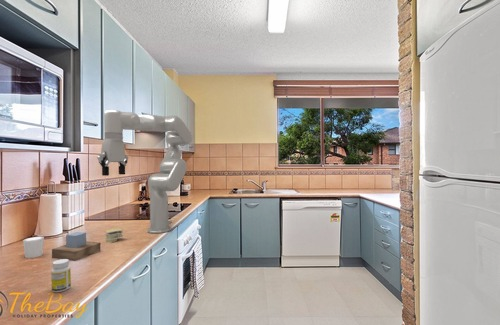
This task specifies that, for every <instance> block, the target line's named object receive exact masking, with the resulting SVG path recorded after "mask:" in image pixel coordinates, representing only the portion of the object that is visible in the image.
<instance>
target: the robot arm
mask: <svg viewBox="0 0 500 325" xmlns="http://www.w3.org/2000/svg"><path fill="white" fill-rule="evenodd" d="M103 121H104V122H103V124H104V127H103V129H104V130H103V132H104V134H103V135H104V136H103V137H104V139H103V140H102V142H101V147H100V148H101V149H100V154H99V155H97V157H96V158H97V160H98V163H99V165H100V167H101V175H102V176H104V177H105V176H106V177H107V176H110V166H109V164H110V163H118V175H126V166H127V164H128V161H129V156H127V154H126V152H125V150H126V149H125V143H124V136H123V135H124V134H123V132H124V131H125V130H127V131H129V130H130V131H146V132H147V131H148V132H149V131H150V132H167V133H166V134H165V142H166V146H167V151H166V153H165V154H164V156H163V159H162V160H161V162H160V164H159V166H158V171H159V172H158V173H153V174H151V175H150V176H149V178H148V179H147V187H148V189H149V191H148V192H149V212H150V213H149V218H150V219H149V221H150V222H149V224H150V225H149V228H147V229H146V231H147V233H149V234H163V233H167V232H170V231H171V230H172V227H171V226H170V225H171V224H173V221H172V220H171V219H170V220H169V197H168V196H169V195H168V193H167V192H175V191H176V190H177V189H178V188H179V187H180V185H181V183H182V180H183V178H184V176H185V174H186V173H187V169H188V168H187V166H188V165H187V162H186V161H185V160H184V159H183V158H181V157H182V151H181V148H180V146H186V145H190V144H191V143H192V142H193V135H192V132H191V131H190V129H189V127H188V126H187V125H186V123H185V122H184V121H183V119H182V118H180V117H179V116H178V115H169V116H165V115H164V116H163V115H155V114H137V113H135V112H131V111H120V110H119V109H118V110H117V109H116V110H115V109H107V110H105V111H104V113H103ZM123 130H124V131H123Z"/></svg>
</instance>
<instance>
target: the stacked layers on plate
mask: <svg viewBox="0 0 500 325" xmlns="http://www.w3.org/2000/svg"><path fill="white" fill-rule="evenodd" d="M123 230H124V228H111V229H108V230H105V232H107V233H104V235H105V238H104V239H105V242H106V243H108V244H112V243H116V242H118V239H120V238H123V236H124V235H123V233H124V232H123Z"/></svg>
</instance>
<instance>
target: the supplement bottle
mask: <svg viewBox="0 0 500 325" xmlns="http://www.w3.org/2000/svg"><path fill="white" fill-rule="evenodd" d="M50 271H51V272H50V274H51V275H50V276H51V291H52V293H61V292H65V291H68V290H70V288H71V285H72V282H71V281H72V278H71V276H72V275H71V274H72V272H71V265H70V260H68V259H57V260H54V261H53V262H52V269H51V270H50Z"/></svg>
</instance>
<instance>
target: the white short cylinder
mask: <svg viewBox="0 0 500 325" xmlns="http://www.w3.org/2000/svg"><path fill="white" fill-rule="evenodd" d="M22 244H23V252H24V257H25V259H33V258H37V257H40V256H43V253H44V252H43V250H44V244H45V237H44V236H33V237H28V238H25V239H23V240H22Z"/></svg>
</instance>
